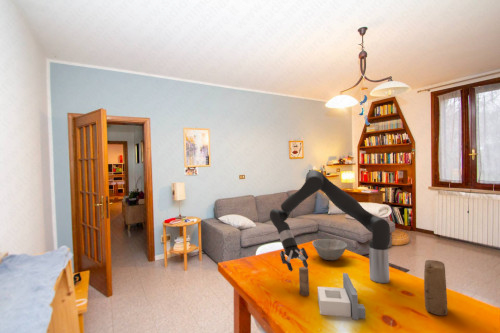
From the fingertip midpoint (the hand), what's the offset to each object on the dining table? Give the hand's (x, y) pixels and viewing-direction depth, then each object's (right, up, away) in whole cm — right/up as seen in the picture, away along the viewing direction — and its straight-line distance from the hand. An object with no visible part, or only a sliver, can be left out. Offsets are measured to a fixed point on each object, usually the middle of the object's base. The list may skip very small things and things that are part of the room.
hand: (299, 269), depth 122 cm
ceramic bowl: (+29, -10, +40) cm, 50 cm away
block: (+53, -9, -20) cm, 58 cm away
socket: (+12, -10, -16) cm, 22 cm away
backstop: (+21, -9, -16) cm, 28 cm away
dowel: (+2, -10, -4) cm, 11 cm away
